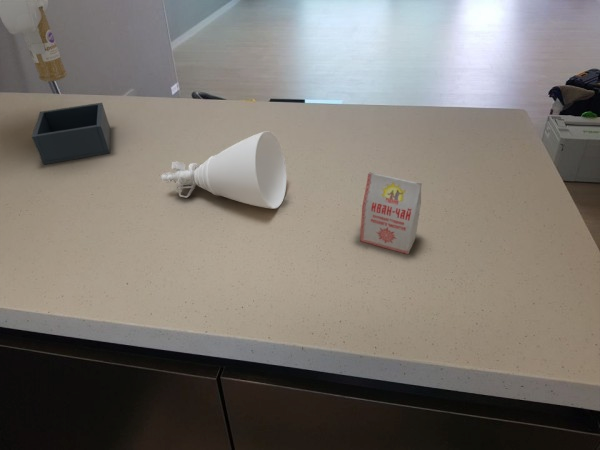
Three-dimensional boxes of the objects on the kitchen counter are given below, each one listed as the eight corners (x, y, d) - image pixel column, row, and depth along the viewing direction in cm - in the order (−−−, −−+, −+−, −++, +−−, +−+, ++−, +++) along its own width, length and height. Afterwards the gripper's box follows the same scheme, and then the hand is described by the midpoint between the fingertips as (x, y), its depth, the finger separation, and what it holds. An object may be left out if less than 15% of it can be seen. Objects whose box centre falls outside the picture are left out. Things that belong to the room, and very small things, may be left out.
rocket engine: (147, 136, 69) (254, 121, 63) (191, 152, 80) (286, 141, 74) (147, 212, 68) (255, 204, 62) (191, 218, 79) (287, 212, 73)
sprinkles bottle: (64, 80, 79) (34, -5, 71) (37, 83, 78) (3, -2, 70) (69, 72, 83) (41, -10, 74) (43, 74, 82) (11, -8, 74)
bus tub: (43, 164, 83) (31, 137, 80) (50, 137, 92) (39, 111, 89) (109, 153, 86) (100, 125, 82) (110, 128, 95) (102, 102, 91)
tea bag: (369, 226, 66) (373, 165, 59) (415, 238, 63) (425, 176, 57) (360, 241, 63) (363, 179, 57) (408, 254, 60) (417, 191, 54)
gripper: (-2, -52, 76) (30, 34, 84) (-32, -35, 60) (12, 69, 69) (38, -55, 77) (67, 30, 86) (20, -39, 62) (56, 63, 70)
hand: (42, 48), depth 77 cm, fingers closed on sprinkles bottle, 4 cm apart
